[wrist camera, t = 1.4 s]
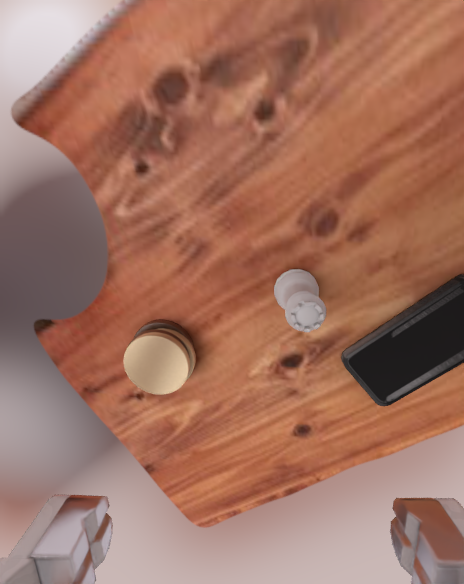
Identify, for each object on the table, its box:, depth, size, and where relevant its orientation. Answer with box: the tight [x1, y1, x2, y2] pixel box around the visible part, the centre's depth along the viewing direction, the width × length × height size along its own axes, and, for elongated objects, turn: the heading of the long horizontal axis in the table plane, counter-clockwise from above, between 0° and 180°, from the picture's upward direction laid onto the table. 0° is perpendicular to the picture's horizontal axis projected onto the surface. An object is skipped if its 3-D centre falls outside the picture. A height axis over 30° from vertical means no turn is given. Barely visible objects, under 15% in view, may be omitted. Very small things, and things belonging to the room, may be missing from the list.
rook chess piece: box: [274, 269, 326, 332], centre depth 26 cm, size 4×4×8 cm
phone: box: [341, 274, 464, 406], centre depth 30 cm, size 8×1×15 cm
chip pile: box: [124, 320, 196, 394], centre depth 32 cm, size 8×8×4 cm
